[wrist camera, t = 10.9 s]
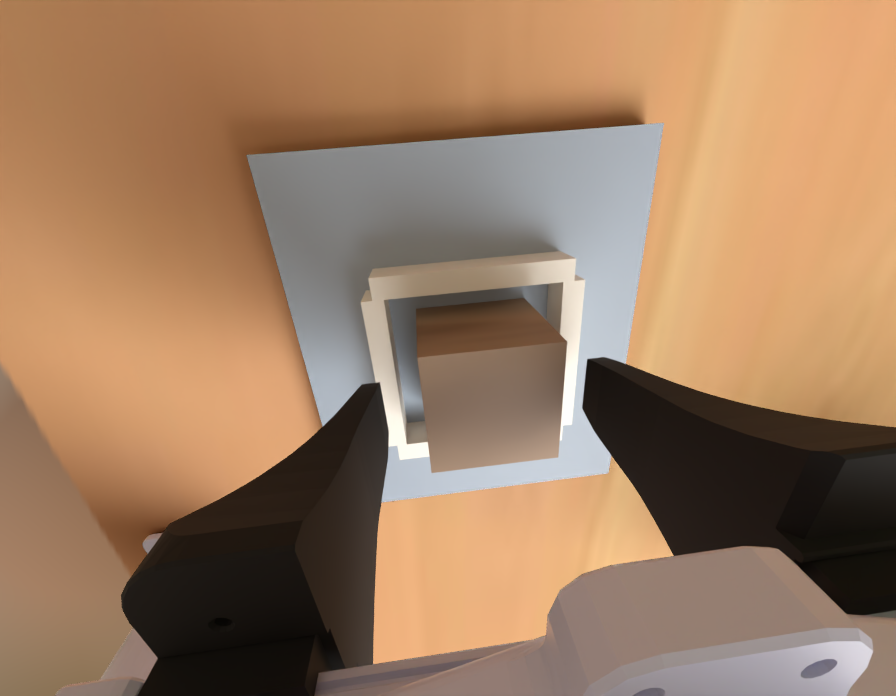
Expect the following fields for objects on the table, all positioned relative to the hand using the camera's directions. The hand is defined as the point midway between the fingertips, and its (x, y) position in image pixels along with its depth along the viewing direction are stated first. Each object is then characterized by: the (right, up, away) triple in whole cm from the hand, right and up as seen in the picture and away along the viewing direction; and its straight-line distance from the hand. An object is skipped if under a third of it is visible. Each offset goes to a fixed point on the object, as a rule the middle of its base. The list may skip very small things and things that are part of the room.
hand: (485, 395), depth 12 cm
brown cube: (0, +1, +3) cm, 3 cm away
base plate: (0, +2, +4) cm, 4 cm away
